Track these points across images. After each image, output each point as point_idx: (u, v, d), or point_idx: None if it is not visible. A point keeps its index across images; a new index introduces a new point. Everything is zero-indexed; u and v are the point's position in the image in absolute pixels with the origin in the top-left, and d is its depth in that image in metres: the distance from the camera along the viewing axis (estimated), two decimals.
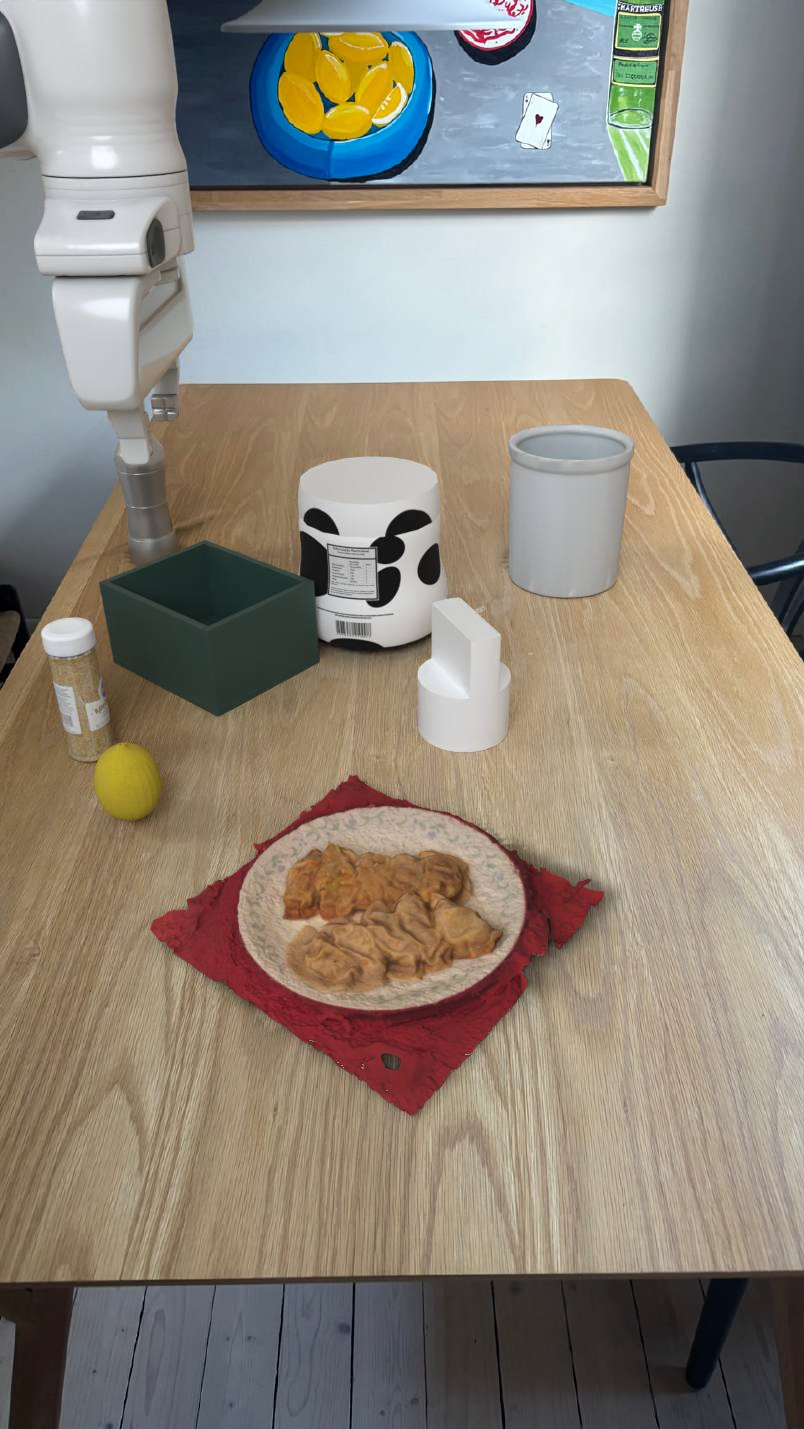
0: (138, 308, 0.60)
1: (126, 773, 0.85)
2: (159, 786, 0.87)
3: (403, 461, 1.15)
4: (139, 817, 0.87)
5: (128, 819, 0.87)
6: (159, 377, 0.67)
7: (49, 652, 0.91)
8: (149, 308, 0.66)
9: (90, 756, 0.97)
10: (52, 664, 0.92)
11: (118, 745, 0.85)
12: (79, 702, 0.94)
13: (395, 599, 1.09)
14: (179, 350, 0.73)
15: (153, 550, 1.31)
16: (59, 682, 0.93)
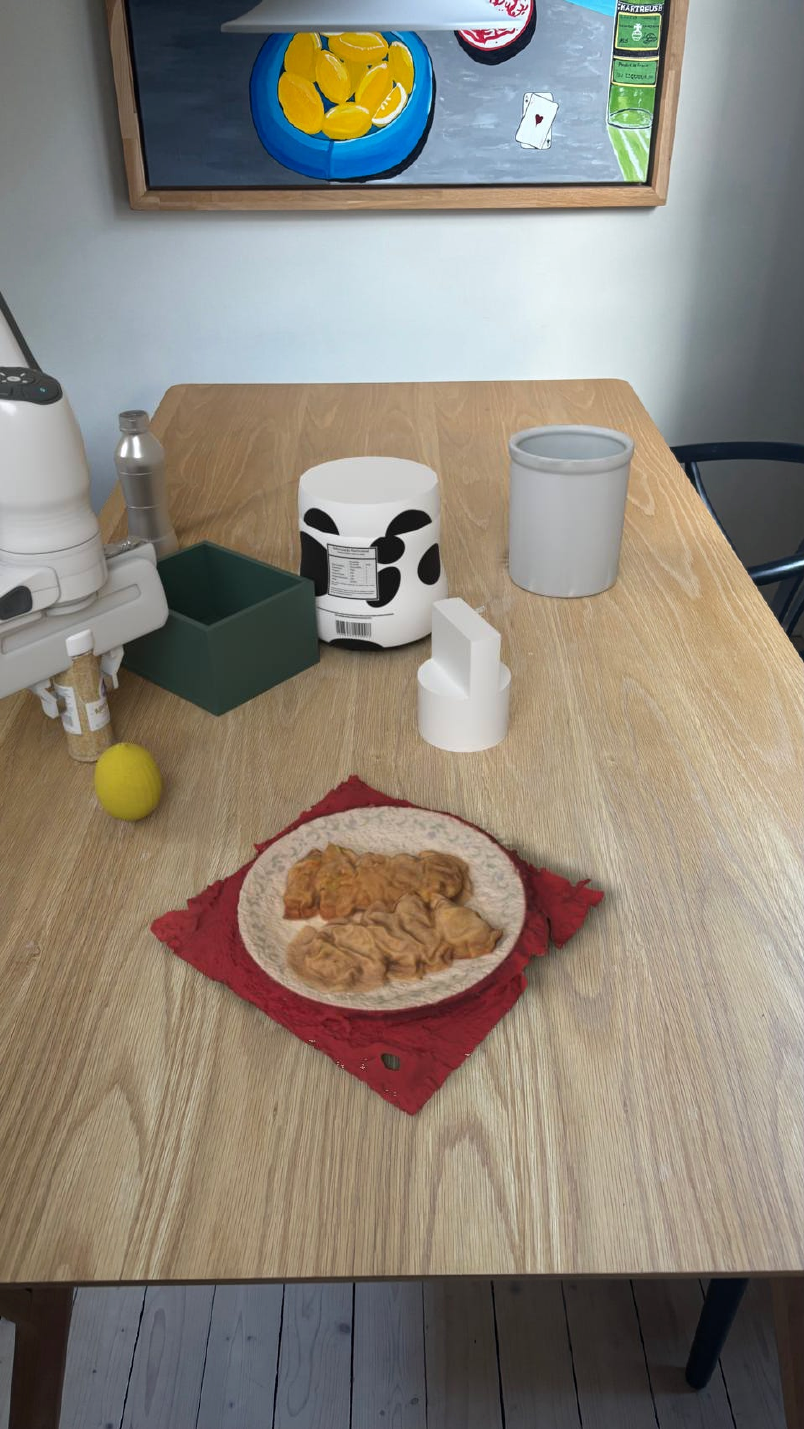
0: None
1: (126, 773, 0.85)
2: (159, 786, 0.87)
3: (403, 461, 1.15)
4: (139, 817, 0.87)
5: (128, 819, 0.87)
6: (53, 673, 0.90)
7: None
8: (50, 628, 0.89)
9: (90, 756, 0.97)
10: None
11: (118, 745, 0.85)
12: (80, 702, 0.94)
13: (395, 599, 1.09)
14: (117, 643, 0.95)
15: None
16: (59, 682, 0.93)
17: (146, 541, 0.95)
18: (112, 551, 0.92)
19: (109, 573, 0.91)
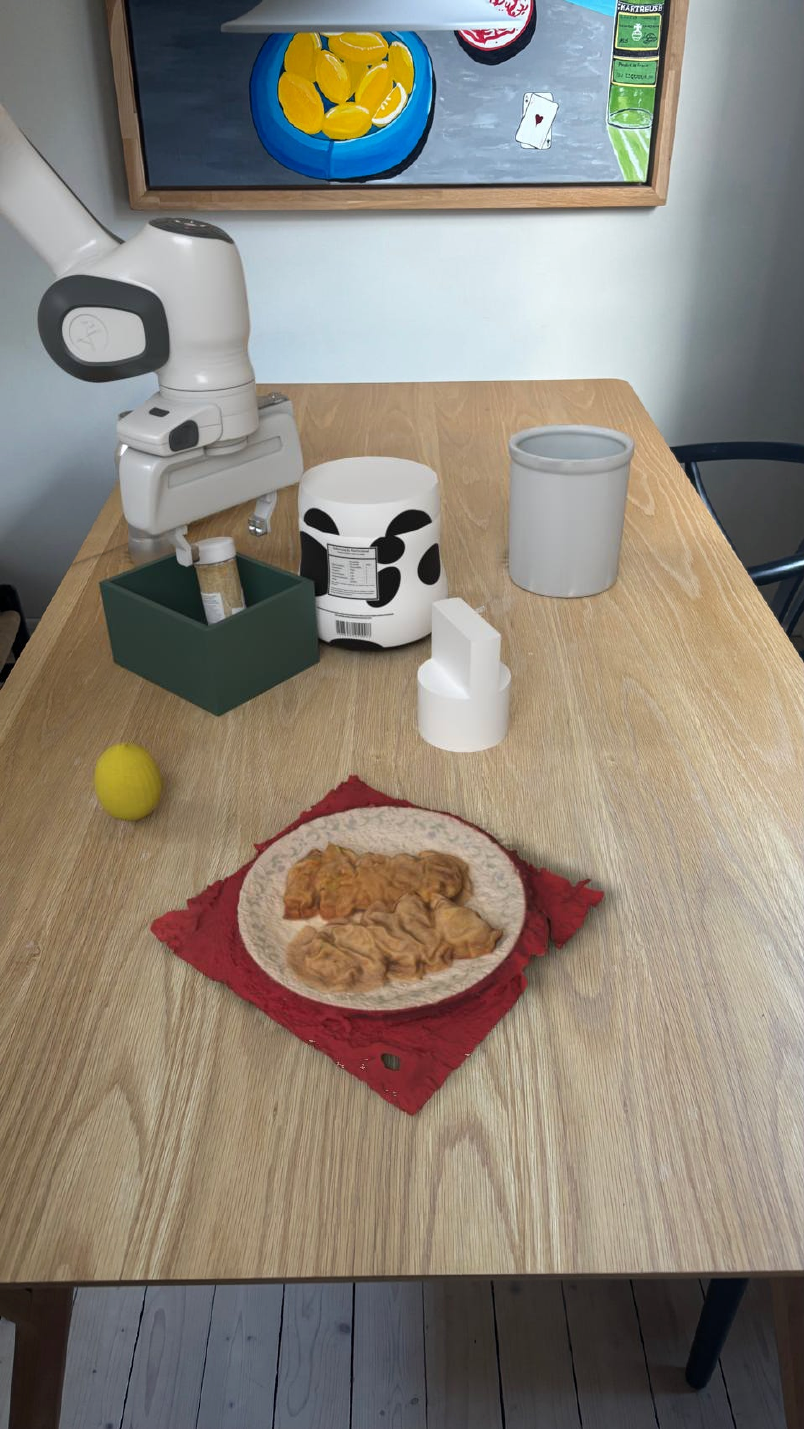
0: (157, 476, 0.91)
1: (126, 773, 0.85)
2: (159, 786, 0.87)
3: (403, 461, 1.15)
4: (139, 817, 0.87)
5: (128, 819, 0.87)
6: (207, 513, 0.98)
7: (199, 561, 1.04)
8: (207, 468, 0.96)
9: None
10: (201, 574, 1.05)
11: (118, 745, 0.85)
12: (226, 607, 1.06)
13: (395, 599, 1.09)
14: (260, 492, 1.02)
15: (153, 550, 1.31)
16: (208, 590, 1.05)
17: (287, 398, 1.02)
18: (260, 403, 0.99)
19: None
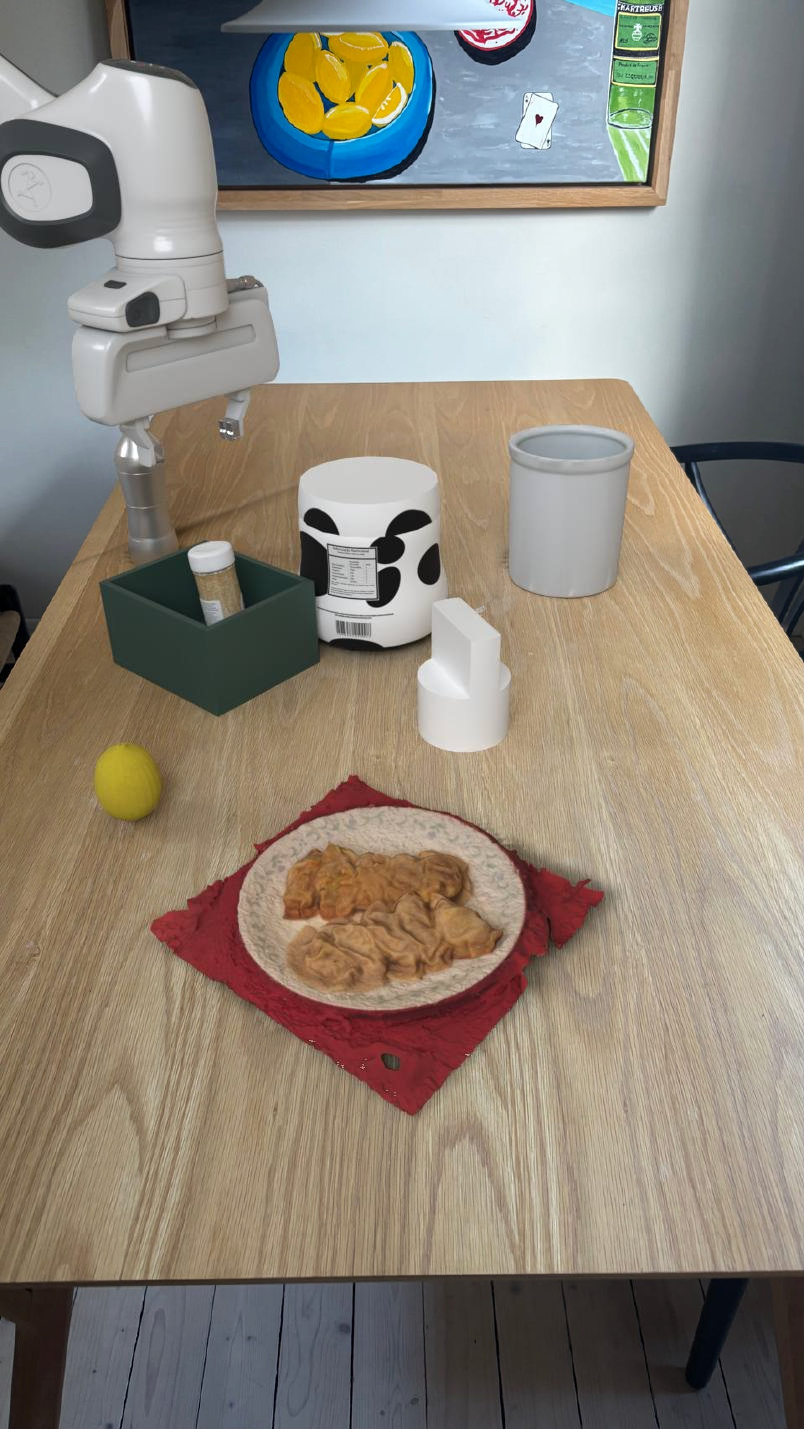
0: (113, 355, 0.81)
1: (126, 773, 0.85)
2: (159, 786, 0.87)
3: (403, 461, 1.15)
4: (139, 817, 0.87)
5: (128, 819, 0.87)
6: (172, 406, 0.88)
7: (197, 570, 1.03)
8: (171, 354, 0.86)
9: None
10: (200, 581, 1.04)
11: (118, 745, 0.85)
12: (226, 614, 1.05)
13: (395, 599, 1.09)
14: (231, 387, 0.92)
15: (153, 550, 1.31)
16: (207, 597, 1.05)
17: (260, 284, 0.92)
18: (230, 286, 0.90)
19: None
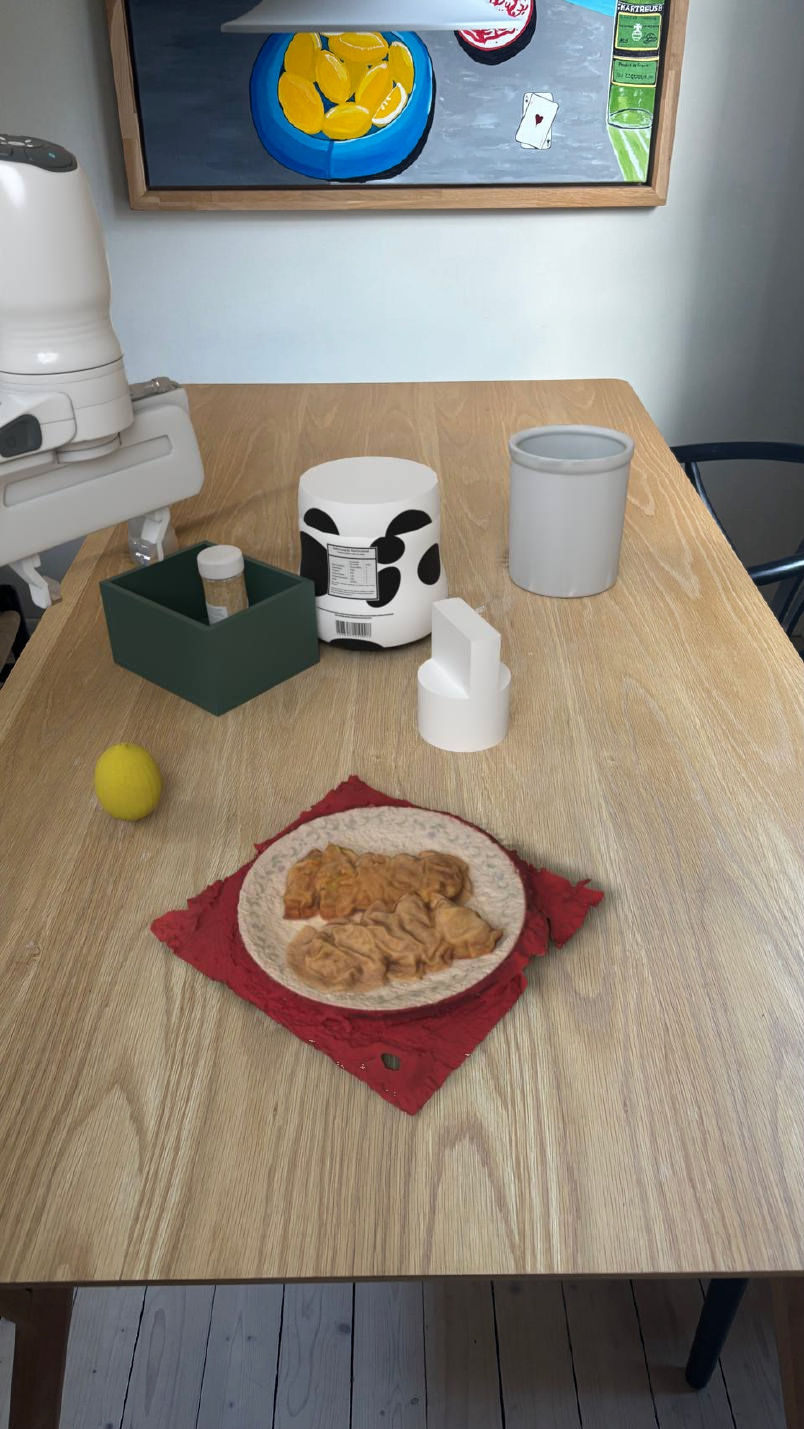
0: None
1: (126, 773, 0.85)
2: (159, 786, 0.87)
3: (403, 461, 1.15)
4: (139, 817, 0.87)
5: (128, 819, 0.87)
6: (67, 539, 0.73)
7: (206, 576, 1.02)
8: (63, 479, 0.72)
9: None
10: (208, 587, 1.03)
11: (118, 745, 0.85)
12: None
13: (395, 599, 1.09)
14: (143, 509, 0.78)
15: None
16: (213, 603, 1.04)
17: (178, 385, 0.78)
18: (138, 392, 0.75)
19: (134, 417, 0.75)
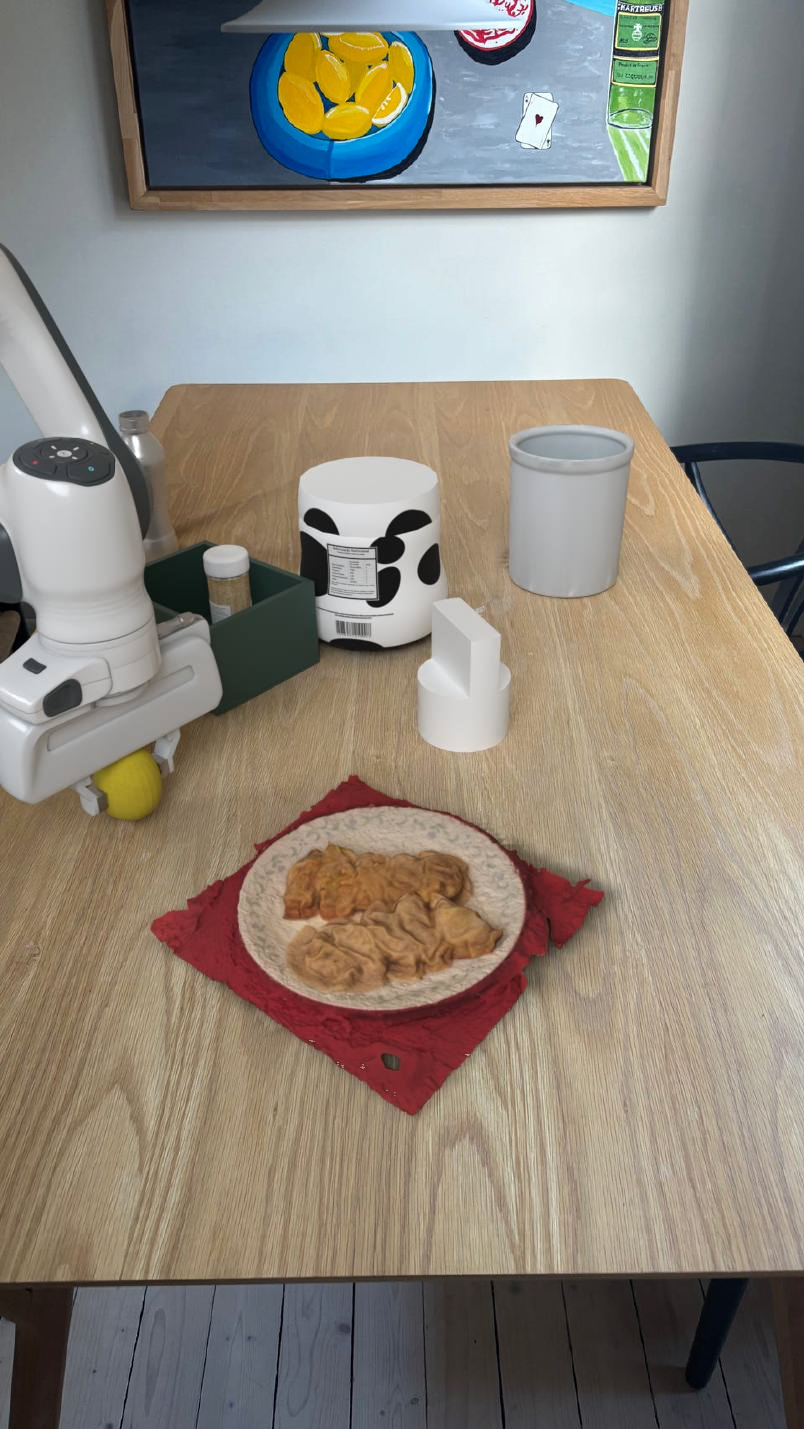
0: (32, 745, 0.76)
1: (126, 773, 0.85)
2: (159, 786, 0.87)
3: (403, 461, 1.15)
4: (139, 817, 0.87)
5: (128, 819, 0.87)
6: (101, 766, 0.82)
7: (211, 574, 1.03)
8: (99, 718, 0.81)
9: None
10: (212, 585, 1.04)
11: None
12: None
13: (395, 599, 1.09)
14: (168, 729, 0.87)
15: (153, 550, 1.31)
16: (217, 601, 1.04)
17: (200, 617, 0.87)
18: (165, 631, 0.84)
19: (162, 656, 0.84)
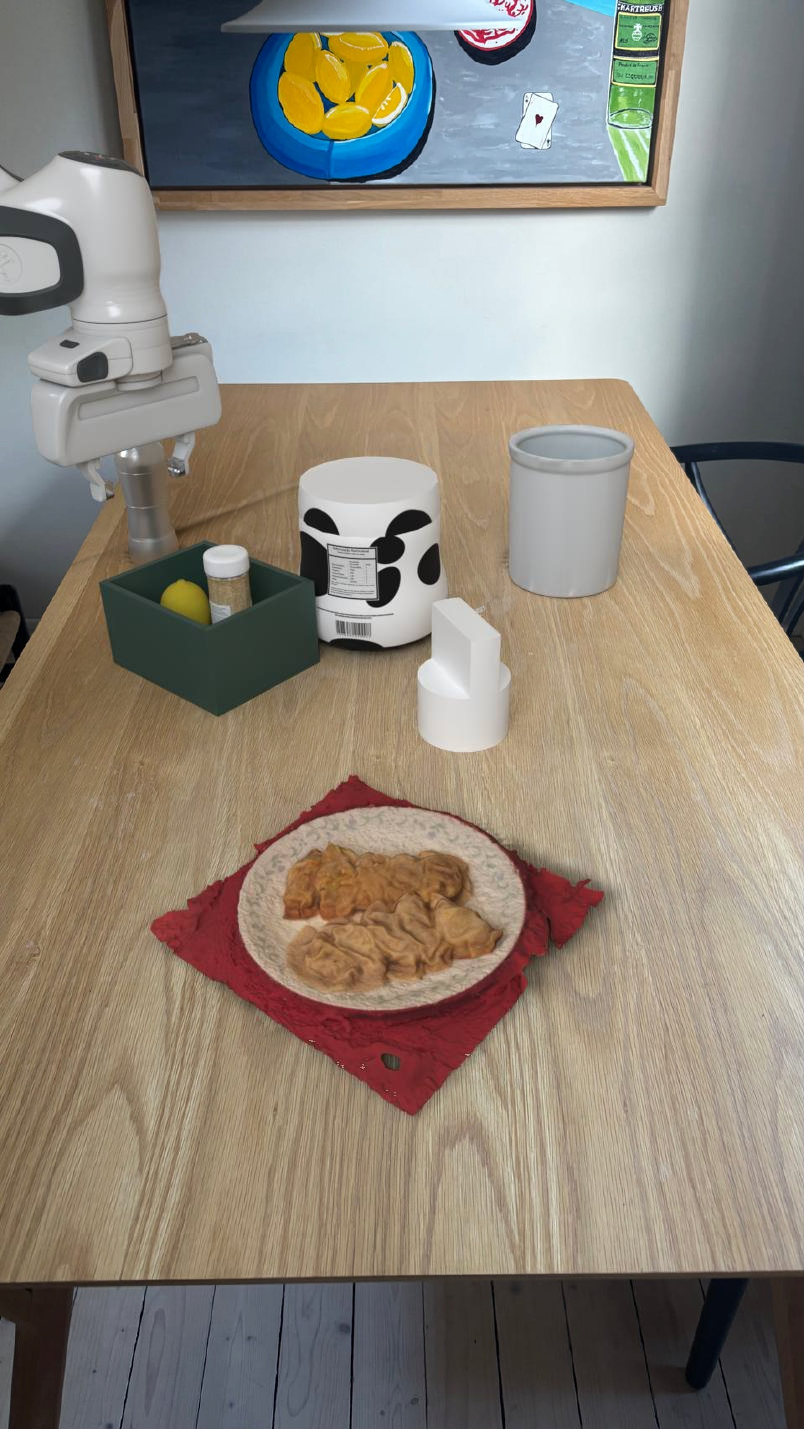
0: (66, 406, 0.92)
1: (185, 601, 1.10)
2: (209, 615, 1.13)
3: (403, 461, 1.15)
4: None
5: None
6: (121, 449, 0.99)
7: (211, 574, 1.03)
8: (120, 404, 0.97)
9: None
10: (212, 585, 1.04)
11: (179, 581, 1.11)
12: None
13: (395, 599, 1.09)
14: (176, 432, 1.03)
15: (153, 550, 1.31)
16: (217, 601, 1.04)
17: (205, 340, 1.04)
18: (176, 343, 1.01)
19: (173, 361, 1.00)
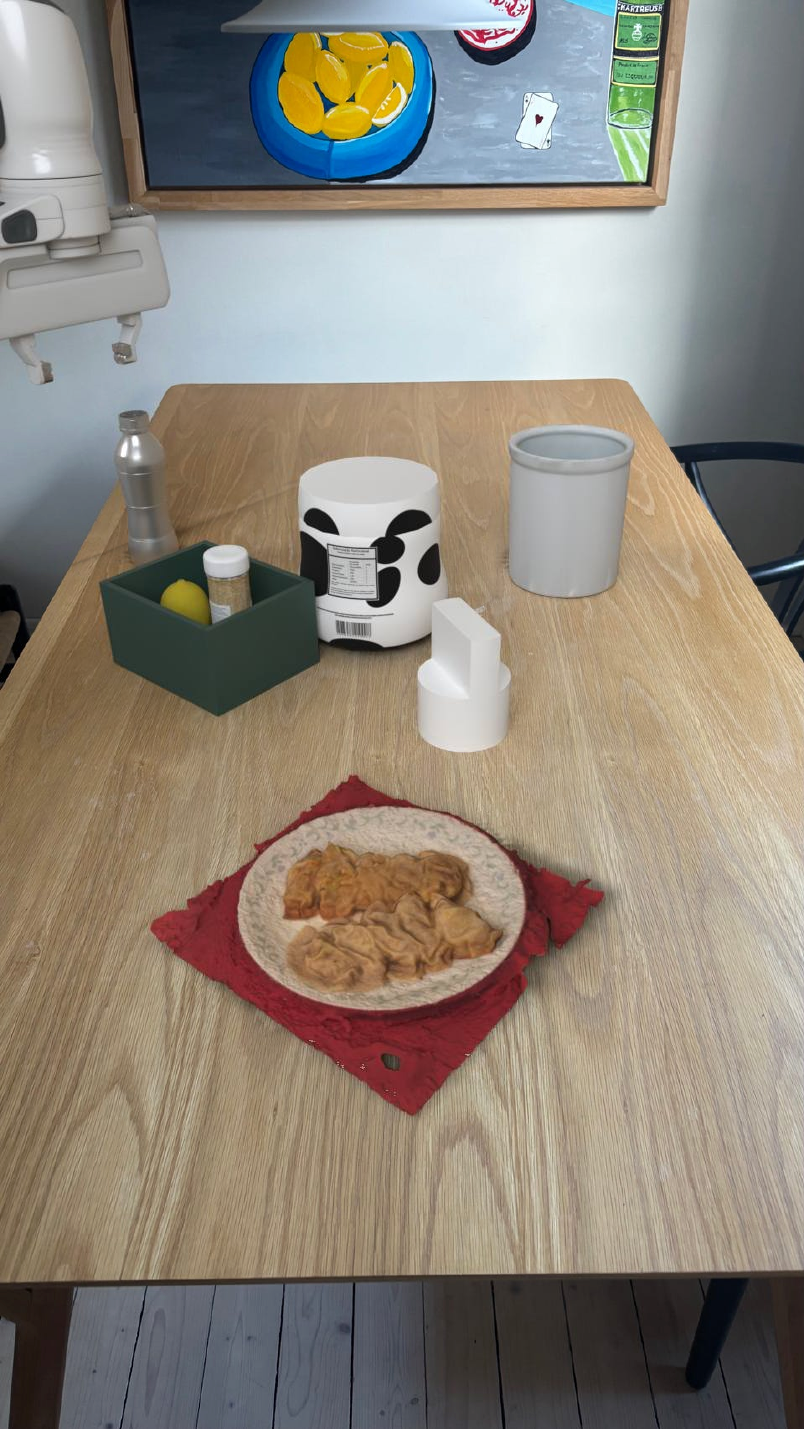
0: None
1: (185, 601, 1.10)
2: (209, 615, 1.13)
3: (403, 461, 1.15)
4: None
5: None
6: (57, 325, 0.92)
7: (211, 574, 1.03)
8: (54, 274, 0.91)
9: None
10: (212, 585, 1.04)
11: (179, 580, 1.11)
12: None
13: (395, 599, 1.09)
14: (119, 311, 0.96)
15: (153, 550, 1.31)
16: (217, 601, 1.04)
17: (148, 212, 0.97)
18: (115, 212, 0.94)
19: (112, 231, 0.93)
